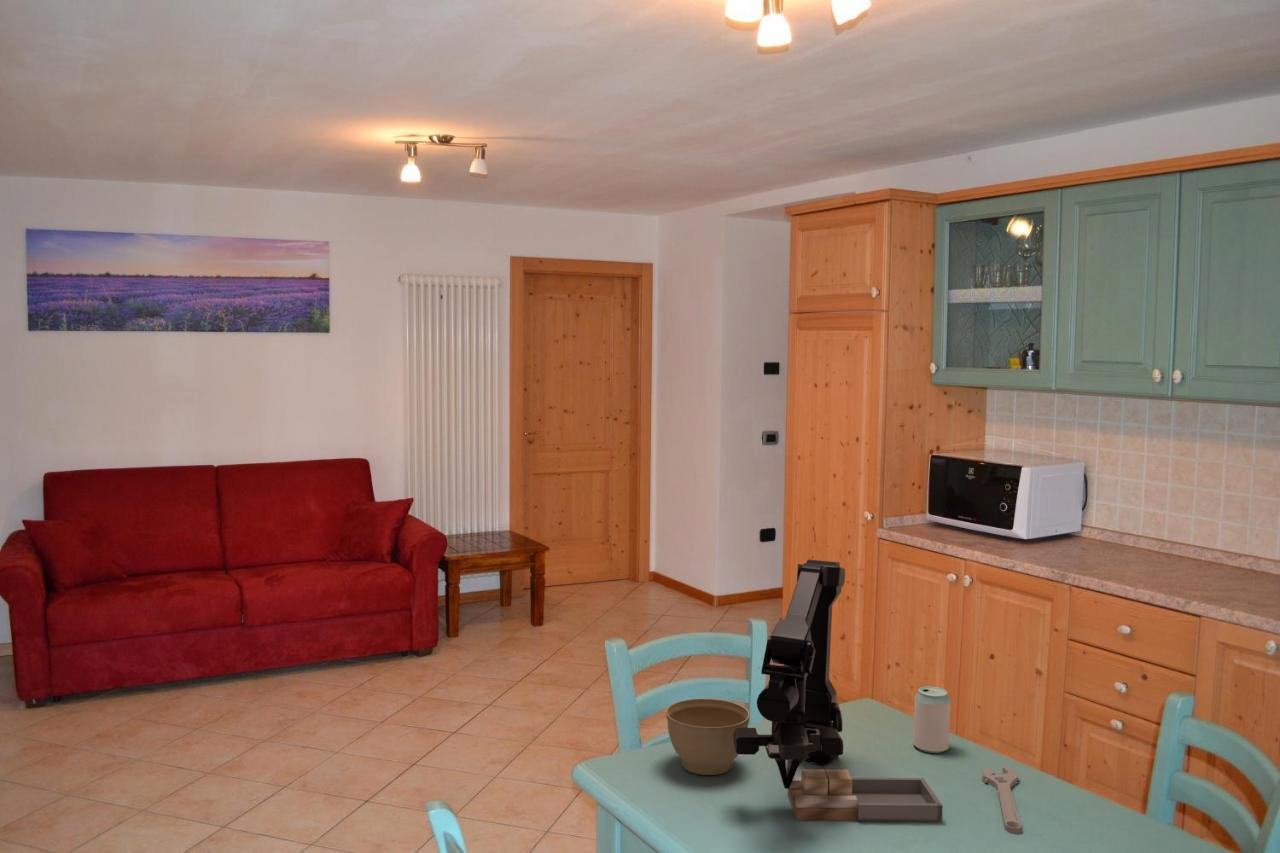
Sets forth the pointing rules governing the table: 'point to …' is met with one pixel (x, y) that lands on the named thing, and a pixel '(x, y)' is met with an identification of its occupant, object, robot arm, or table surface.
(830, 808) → the slot board
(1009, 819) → the adjustable wrench
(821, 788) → the brown wooden cube
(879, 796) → the tray
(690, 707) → the planter bowl
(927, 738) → the can
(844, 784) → the light brown cube
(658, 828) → the table surface
